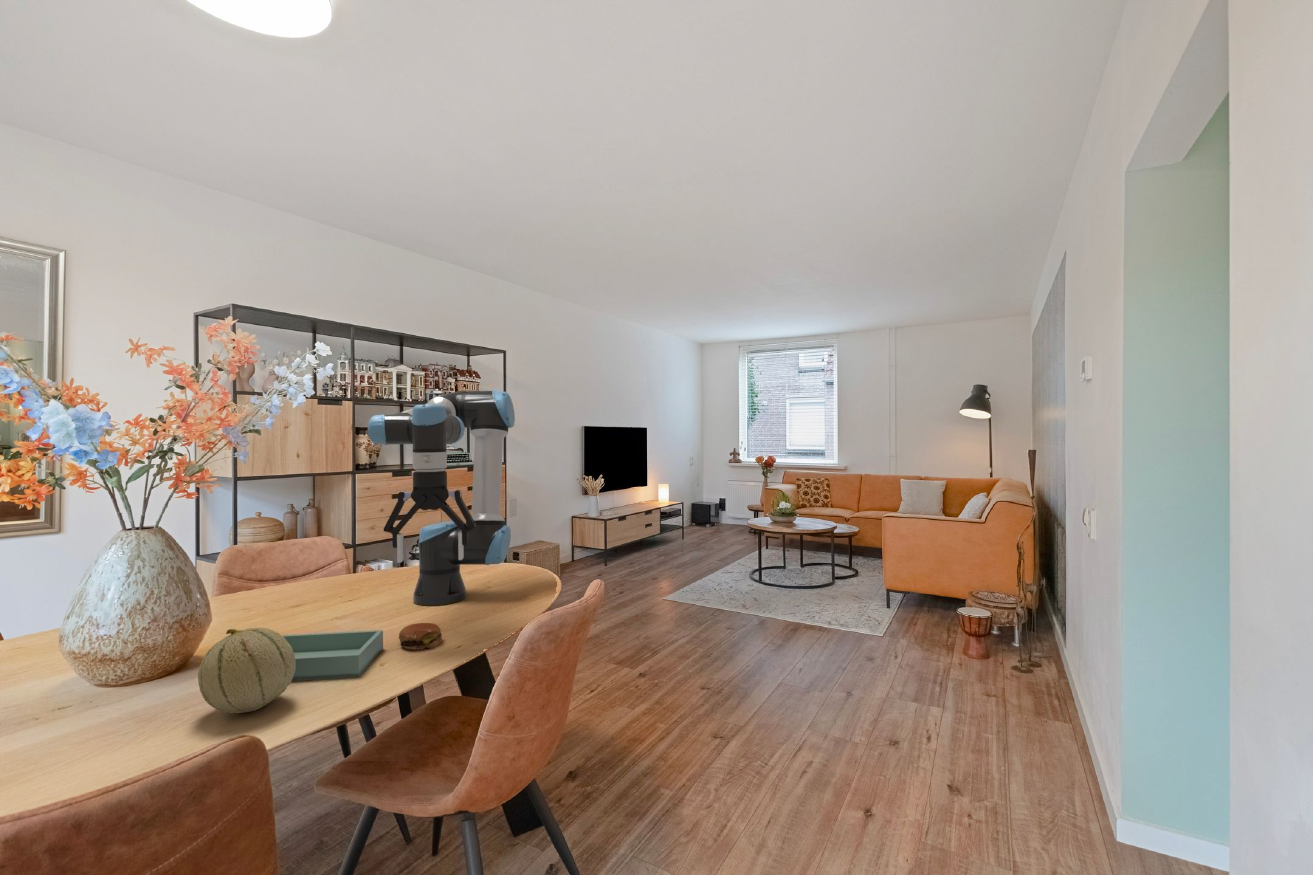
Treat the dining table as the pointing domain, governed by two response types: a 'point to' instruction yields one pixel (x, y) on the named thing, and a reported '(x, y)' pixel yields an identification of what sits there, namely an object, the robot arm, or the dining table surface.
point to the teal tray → (334, 653)
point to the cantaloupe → (246, 670)
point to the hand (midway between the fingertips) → (431, 560)
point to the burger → (420, 636)
